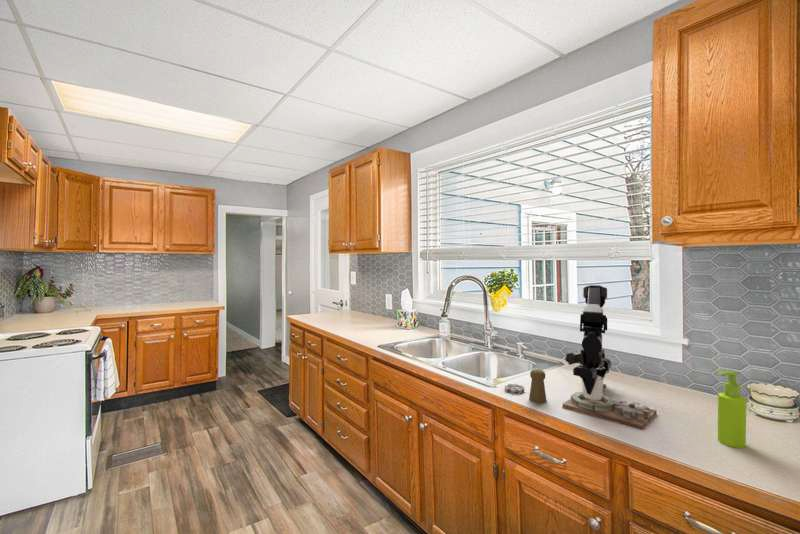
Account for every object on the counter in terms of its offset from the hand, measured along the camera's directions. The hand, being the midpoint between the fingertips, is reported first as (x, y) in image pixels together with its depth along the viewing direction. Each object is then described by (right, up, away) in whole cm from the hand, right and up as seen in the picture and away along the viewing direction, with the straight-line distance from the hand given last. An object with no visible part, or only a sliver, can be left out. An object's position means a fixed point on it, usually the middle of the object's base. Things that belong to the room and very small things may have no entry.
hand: (592, 391), depth 131 cm
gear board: (+3, -5, -4) cm, 7 cm away
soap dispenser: (+25, -6, -26) cm, 36 cm away
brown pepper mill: (-17, -5, +6) cm, 19 cm away
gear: (-22, -5, +16) cm, 28 cm away
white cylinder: (0, -2, 0) cm, 2 cm away
